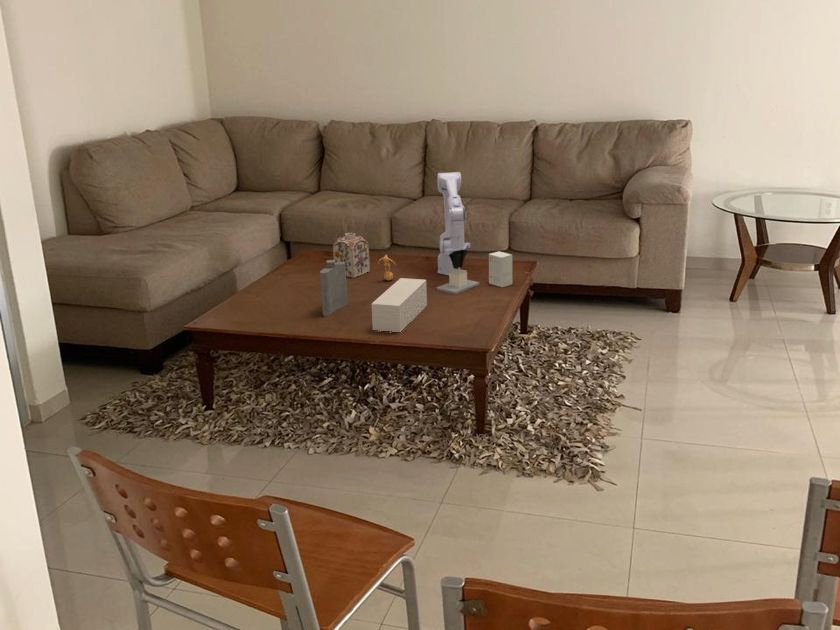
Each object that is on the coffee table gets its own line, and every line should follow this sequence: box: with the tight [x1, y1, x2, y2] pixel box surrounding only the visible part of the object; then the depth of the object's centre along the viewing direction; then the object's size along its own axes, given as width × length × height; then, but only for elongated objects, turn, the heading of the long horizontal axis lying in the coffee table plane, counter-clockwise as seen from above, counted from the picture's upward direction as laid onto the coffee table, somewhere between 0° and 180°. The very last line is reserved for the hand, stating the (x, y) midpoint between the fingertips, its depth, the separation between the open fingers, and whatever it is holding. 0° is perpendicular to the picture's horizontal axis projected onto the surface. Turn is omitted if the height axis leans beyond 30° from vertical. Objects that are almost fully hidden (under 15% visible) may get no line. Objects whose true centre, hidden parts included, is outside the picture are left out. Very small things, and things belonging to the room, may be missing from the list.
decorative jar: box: [332, 232, 371, 279], centre depth 391 cm, size 12×12×18 cm
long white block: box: [371, 277, 428, 333], centre depth 335 cm, size 32×11×11 cm, turn 162°
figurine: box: [377, 254, 397, 281], centre depth 379 cm, size 8×6×12 cm
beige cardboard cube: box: [448, 268, 468, 288], centre depth 369 cm, size 5×5×6 cm
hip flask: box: [319, 259, 349, 316], centre depth 345 cm, size 16×4×20 cm, turn 154°
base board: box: [436, 279, 480, 295], centre depth 370 cm, size 10×16×1 cm, turn 138°
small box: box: [488, 250, 513, 288], centre depth 370 cm, size 8×6×13 cm
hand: (457, 267), depth 367 cm, fingers closed
